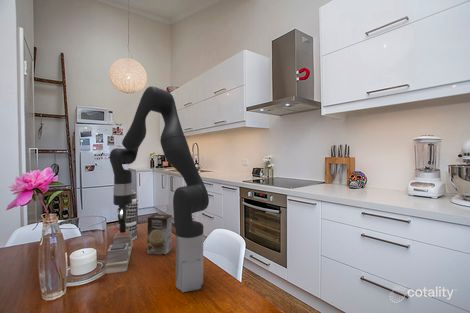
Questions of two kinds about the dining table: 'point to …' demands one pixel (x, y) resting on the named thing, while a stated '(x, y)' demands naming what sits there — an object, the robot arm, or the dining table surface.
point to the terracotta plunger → (123, 233)
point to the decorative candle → (132, 216)
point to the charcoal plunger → (118, 246)
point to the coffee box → (159, 234)
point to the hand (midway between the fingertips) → (122, 231)
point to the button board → (119, 255)
